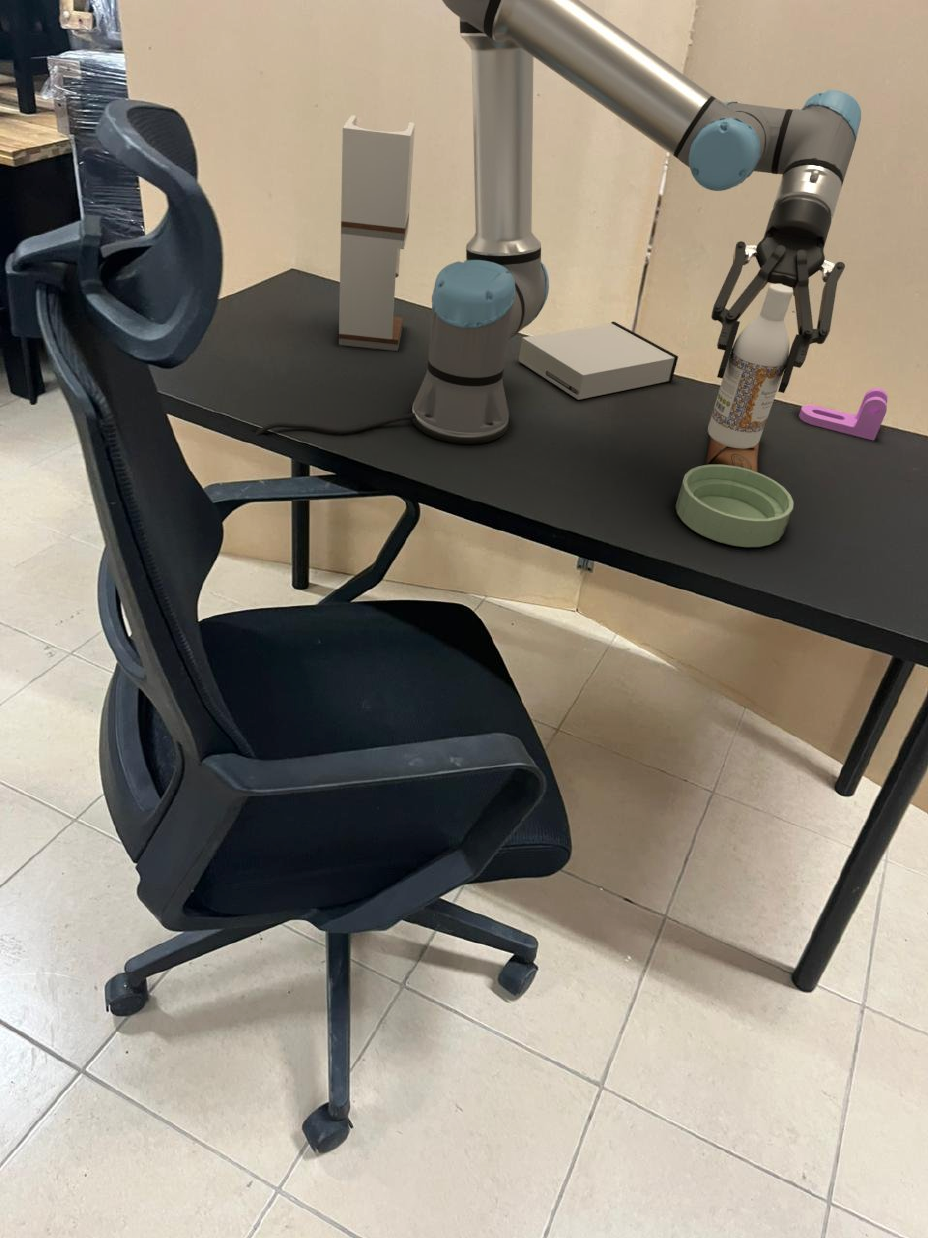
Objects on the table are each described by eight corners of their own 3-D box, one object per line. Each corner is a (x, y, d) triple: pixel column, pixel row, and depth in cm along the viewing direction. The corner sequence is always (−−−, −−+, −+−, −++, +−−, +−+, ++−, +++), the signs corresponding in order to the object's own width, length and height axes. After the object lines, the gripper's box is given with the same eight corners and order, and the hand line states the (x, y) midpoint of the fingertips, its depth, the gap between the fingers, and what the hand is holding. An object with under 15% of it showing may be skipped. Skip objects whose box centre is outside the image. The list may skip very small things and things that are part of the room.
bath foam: (733, 454, 116) (784, 300, 104) (695, 430, 121) (740, 280, 108) (769, 444, 120) (822, 294, 107) (731, 422, 124) (778, 275, 112)
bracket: (875, 428, 157) (891, 391, 153) (874, 440, 153) (890, 402, 149) (800, 409, 161) (813, 372, 156) (797, 420, 156) (811, 383, 152)
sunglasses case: (761, 485, 135) (749, 446, 132) (714, 497, 138) (702, 459, 135) (761, 435, 149) (751, 399, 146) (719, 447, 152) (708, 412, 149)
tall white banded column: (397, 350, 162) (410, 135, 141) (338, 344, 162) (342, 127, 140) (402, 328, 171) (414, 122, 150) (346, 322, 171) (351, 114, 149)
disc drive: (672, 382, 164) (679, 355, 161) (578, 401, 153) (584, 373, 150) (609, 346, 175) (614, 321, 172) (517, 362, 164) (521, 335, 161)
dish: (681, 540, 121) (690, 512, 118) (669, 485, 133) (677, 458, 130) (793, 555, 121) (804, 527, 118) (771, 498, 133) (781, 471, 130)
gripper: (727, 180, 112) (675, 348, 110) (891, 212, 108) (841, 387, 106) (720, 216, 120) (671, 374, 117) (873, 247, 116) (825, 411, 113)
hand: (751, 380), depth 112 cm, fingers closed on bath foam, 7 cm apart
